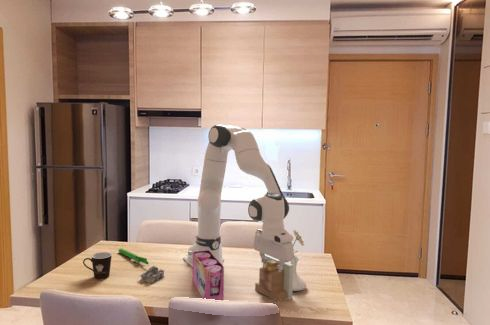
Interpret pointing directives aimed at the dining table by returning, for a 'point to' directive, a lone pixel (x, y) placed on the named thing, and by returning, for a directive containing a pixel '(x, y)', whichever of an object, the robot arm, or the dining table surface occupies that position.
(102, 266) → the coffee mug
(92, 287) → the dining table surface
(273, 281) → the wooden block
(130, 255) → the green onion
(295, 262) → the flower in vase
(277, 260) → the bookend
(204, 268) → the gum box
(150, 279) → the grey jagged rock
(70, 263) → the dining table surface
